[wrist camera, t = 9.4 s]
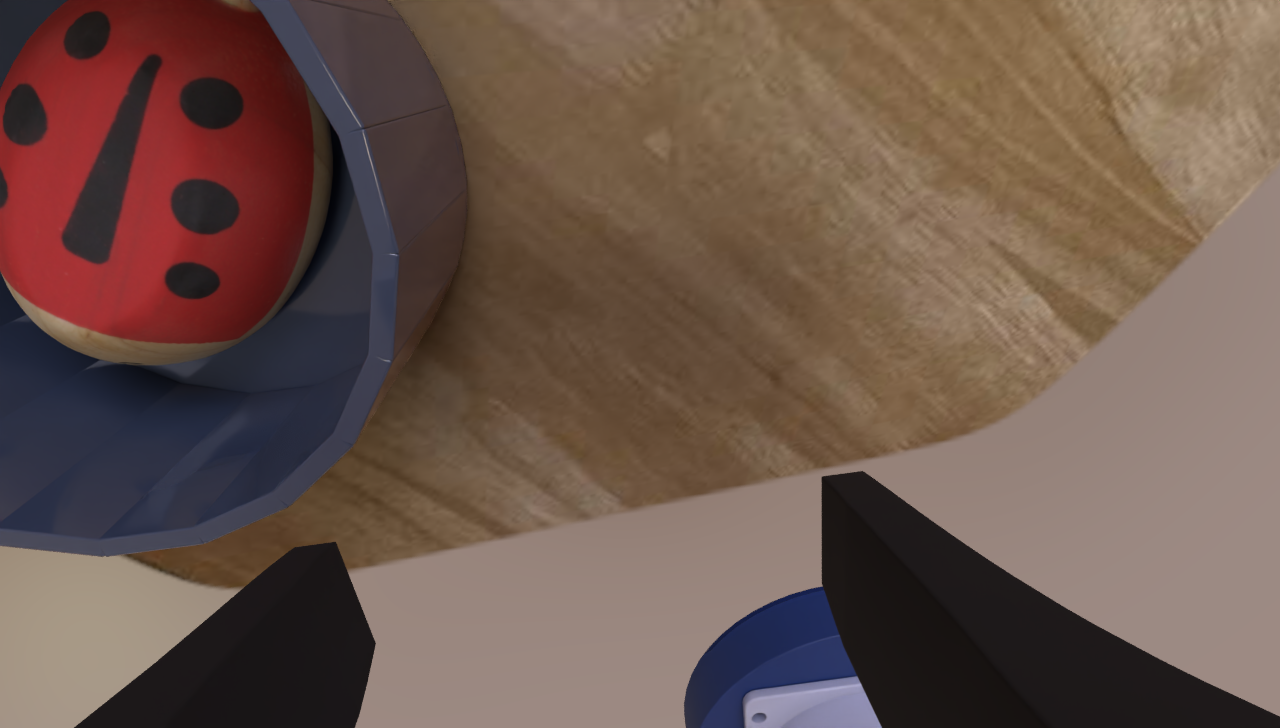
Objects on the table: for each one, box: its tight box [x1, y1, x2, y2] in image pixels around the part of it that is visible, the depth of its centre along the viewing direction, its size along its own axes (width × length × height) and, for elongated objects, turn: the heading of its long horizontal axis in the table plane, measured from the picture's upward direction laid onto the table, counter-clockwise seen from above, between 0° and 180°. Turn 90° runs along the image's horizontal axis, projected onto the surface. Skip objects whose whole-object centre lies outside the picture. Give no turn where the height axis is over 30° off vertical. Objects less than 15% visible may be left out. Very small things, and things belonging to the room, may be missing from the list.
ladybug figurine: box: [0, 0, 333, 365], centre depth 15 cm, size 7×10×4 cm
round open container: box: [0, 0, 467, 557], centre depth 14 cm, size 13×13×7 cm
